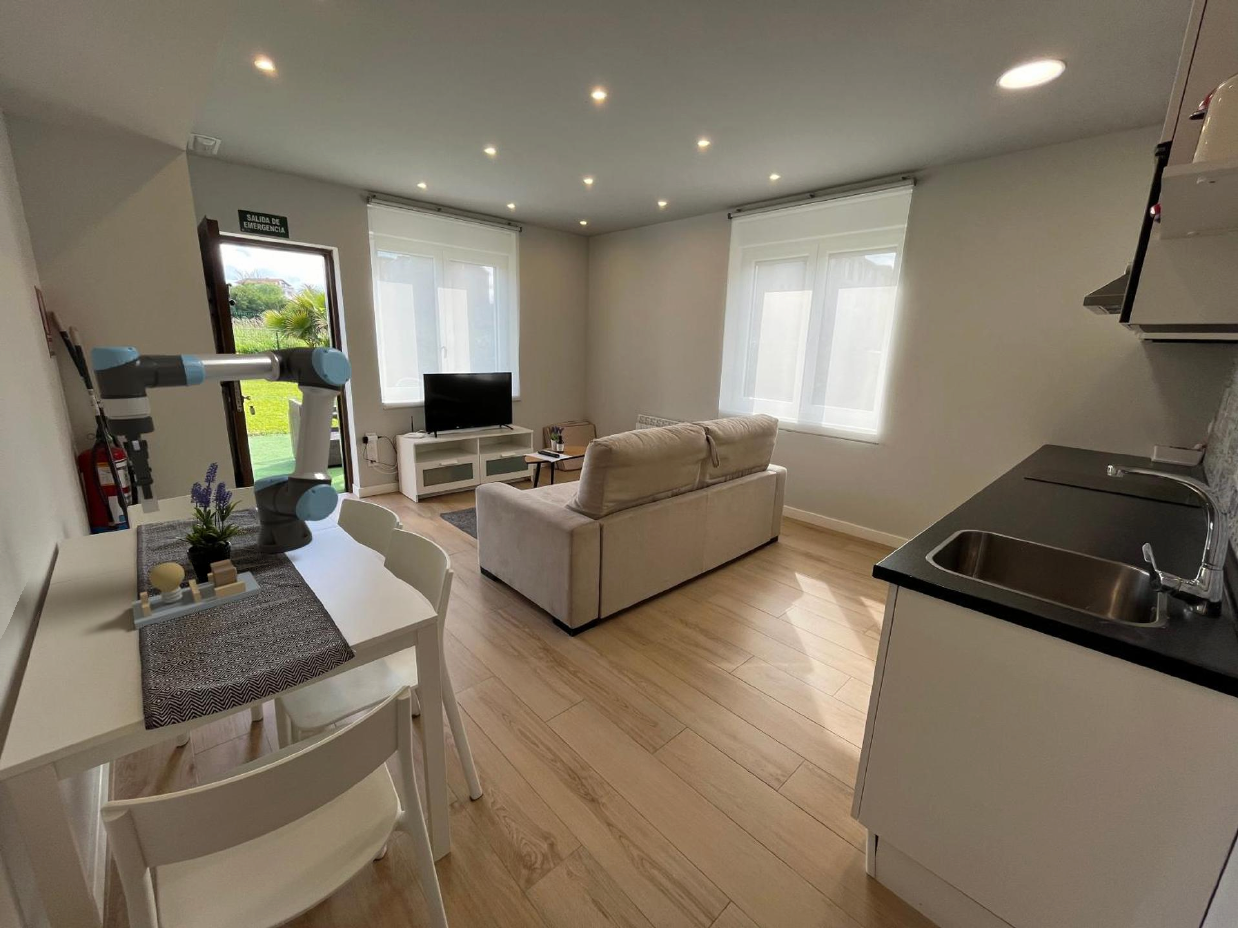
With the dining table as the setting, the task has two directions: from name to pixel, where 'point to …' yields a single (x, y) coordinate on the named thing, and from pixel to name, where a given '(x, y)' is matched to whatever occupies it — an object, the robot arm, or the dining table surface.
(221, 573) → the tan wooden stepped block
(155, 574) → the light bulb
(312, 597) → the dining table surface
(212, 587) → the jig
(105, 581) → the dining table surface
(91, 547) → the dining table surface
